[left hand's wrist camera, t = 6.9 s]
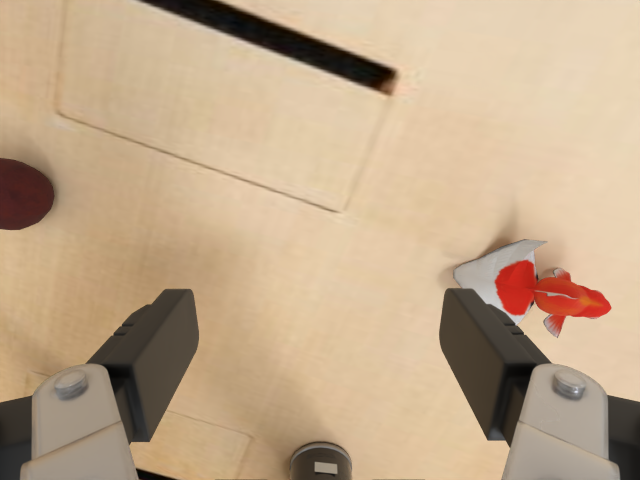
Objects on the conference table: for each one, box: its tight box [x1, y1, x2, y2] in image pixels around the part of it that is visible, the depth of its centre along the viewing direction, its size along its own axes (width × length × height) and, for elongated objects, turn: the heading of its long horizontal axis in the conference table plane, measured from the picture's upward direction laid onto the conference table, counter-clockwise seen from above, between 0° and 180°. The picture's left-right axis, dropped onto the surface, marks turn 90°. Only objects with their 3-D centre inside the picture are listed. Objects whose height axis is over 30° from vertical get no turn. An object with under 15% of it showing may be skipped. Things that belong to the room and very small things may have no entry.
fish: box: [453, 239, 611, 338], centre depth 40 cm, size 11×16×10 cm
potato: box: [0, 158, 54, 230], centre depth 36 cm, size 7×8×7 cm
